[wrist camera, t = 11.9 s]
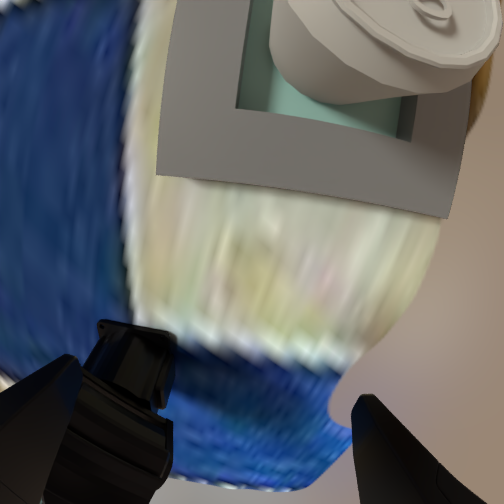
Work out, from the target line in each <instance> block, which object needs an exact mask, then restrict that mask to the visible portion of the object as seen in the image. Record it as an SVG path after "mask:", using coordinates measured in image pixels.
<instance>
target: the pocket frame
mask: <svg viewBox="0 0 504 504" xmlns="http://www.w3.org/2000/svg"><path fill="white" fill-rule="evenodd" d="M273 1H274V0H177V5H176V10H175V15H174V20H173V26H172V31H171V37H170V43H169V49H168V56H167V63H166V70H165V77H164V85H163V94H162V103H161V112H160V123H159V134H158V148H157V164H156V175H162V176H174V177H186V178H197V179H207V180H217V181H226V182H235V183H244V184H252V185H260V186H267V187H275V188H282V189H289V190H296V191H303V192H309V193H316V194H322V195H328V196H334V197H340V198H346V199H352V200H357V201H363V202H368V203H373V204H378V205H384V206H389V207H394V208H398V209H403V210H408V211H413V212H417V213H422V214H426V215H431V216H435V217H440V218H444V219H448V216H449V212H450V208H451V205H452V201H453V197H454V192H455V189H456V184H457V180H458V175H459V171H460V165H461V160H462V155H463V149H464V144H465V138H466V131H467V124H468V116H469V108H470V98H471V86H472V79H471V81H470V82H468V83H466V84H463V85H461V86H459V87H457V88H455V89H453V90H451V91H448V92H443V93H430V94H420V95H410V96H401V97H393V98H386V99H379V100H372V101H366V102H360V103H352V104H345V105H335V104H329V103H322V102H318V101H316V100H314V99H312V98H310V97H307V96H305V95H303V94H301V93H300V92H298V91H297V90H296V89H295V88H294V87H293V86H291V85H290V84H289V83H288V82H286V81H285V79H284V78H283V76H282V75H281V73H280V72H279V71H278V69H277V68H276V66H275V65H274V62H273V59H272V55H271V52H270V48H269V39H270V27H271V18H272V9H273Z"/></svg>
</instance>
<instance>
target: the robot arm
mask: <svg viewBox="0 0 504 504" xmlns="http://www.w3.org/2000/svg"><path fill="white" fill-rule="evenodd" d="M97 328H98V333H99V338H100V339H99V340H98V342H97V344H96V345H95V347H94V348H93V350H92V352H91V353H90V355H89V357H88V358H87V360H86V362H85V363H84V365H83V367H82V366H80V365H81V364H79V361H78V358H77V357H76V356H73V355H70V354H64V355H62V356H60V357H59V358H57V359H55V360H54V361H52V362H50V363H49V364H47V365H45V366H44V367H42V368H40V369H39V370H37V371H36V372H34V373H32V374H31V375H29V376H27V377H26V378H24V379H22V380H21V381H19V382H17V383H16V384H14V385H12V386H11V387H9V388H7V389H6V390H4V391H2V392H1V393H0V504H149V502H150V500H151V498H152V497H153V495H154V493H155V491H156V490H157V489H159V488H160V487H161V486H162V485H163V484H164V482H165V481H166V479H167V478H168V475H169V473H170V471H171V468H172V464H173V421H171V420H169V419H167V418H166V419H165V418H163V417H161V416H159V415H158V414H157V412H158V409H162V410H163V409H165V408H166V406H167V402H168V399H169V395H170V392H171V388H172V385H173V381H174V378H175V363H174V356H173V355H172V354H170V336H169V334H168V333H167V332H165V331H160V330H154V329H149V328H143V327H138V326H133V325H128V324H123V323H118V322H113V321H108V320H104V319H101V320H99V322H98V323H97ZM161 336H162V337H164V338H162V337H161ZM351 422H352V443H353V457H354V464H355V471H356V477H357V484H358V491H359V497H360V504H487V503H486V502H484V501H483V500H482V499H481V498H479V497H478V496H477V495H475V494H474V493H473V492H471V491H470V490H469V489H468V488H467V487H465V486H464V485H463V484H462V483H461V482H459V481H458V480H457V479H456V478H455V477H454V476H453V475H452V474H450V473H449V471H448V470H447V469H446V468H445V467H444V466H443V465H441V463H439V462H438V461H437V459H436V458H435V457H434V456H433V455H432V454H431V453H430V452H429V451H428V450H427V449H426V448H425V447H424V446H423V445H422V444H421V443H420V442H419V441H418V440H417V439H416V438H415V437H414V436H413V435H412V434H411V432H410V431H409V430H408V429H407V428H406V427H405V426H404V425H403V424H402V423H401V422H400V421H399V420H398V419H397V418H396V417H395V416H394V415H393V414H392V413H391V412H390V411H389V410H388V409H387V408H386V406H385V405H384V404H383V403H382V402H381V401H380V400H379V399H378V398H377V397H376V396H375V395H373V394H362V395H360V396H359V398H358V400H357V402H356V403H355V405H354V407H353V409H352V413H351Z"/></svg>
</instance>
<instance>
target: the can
mask: <svg viewBox="0 0 504 504" xmlns="http://www.w3.org/2000/svg"><path fill="white" fill-rule="evenodd" d="M502 26H503V22H502V15H501V8H500V2H499V0H274V1H273V9H272V18H271V27H270V39H269V48H270V52H271V55H272V59H273V62H274V65H275V66H276V68H277V69H278V71H279V72H280V73H281V75H282V76H283V78H284V79H285V81H286V82H288V83H289V84H290V85H291V86H293V87H294V88H295V89H296V90H297V91H298V92H300V93H301V94H303V95H305V96H307V97H310V98H312V99H314V100H316V101H318V102H322V103H329V104H335V105H345V104H352V103H360V102H366V101H372V100H379V99H386V98H393V97H401V96H410V95H420V94H430V93H443V92H448V91H451V90H453V89H455V88H457V87H459V86H461V85H463V84H466V83H468V82H470V81H471V79H472V78H473V77H474V76H475V74H476V73H477V72H478V71H479V69H480V68H481V67H482V66H483V64H484V62H485V61H487V60H488V58H489V57H490V56H491V55H492V53H493V52H494V51H495V49H496V48H497V47H498V45H499V41H500V36H501V31H502Z"/></svg>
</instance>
